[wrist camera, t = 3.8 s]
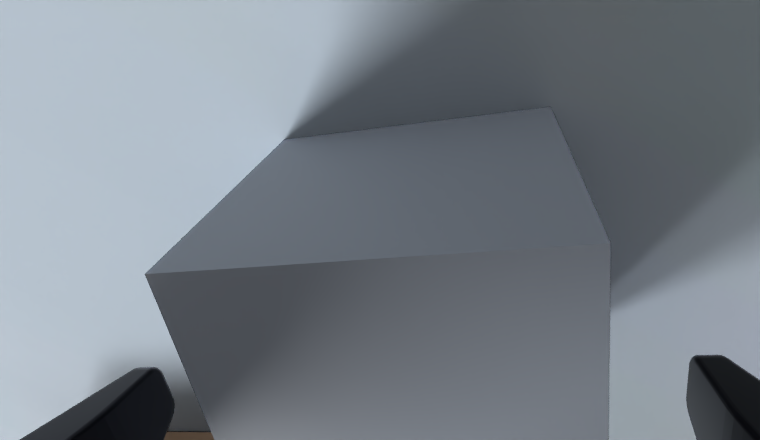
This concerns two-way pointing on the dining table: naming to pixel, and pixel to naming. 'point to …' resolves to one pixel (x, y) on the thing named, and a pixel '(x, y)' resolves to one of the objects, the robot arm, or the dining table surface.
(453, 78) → the dining table surface
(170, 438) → the walnut block
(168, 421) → the robot arm
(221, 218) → the slate cube
